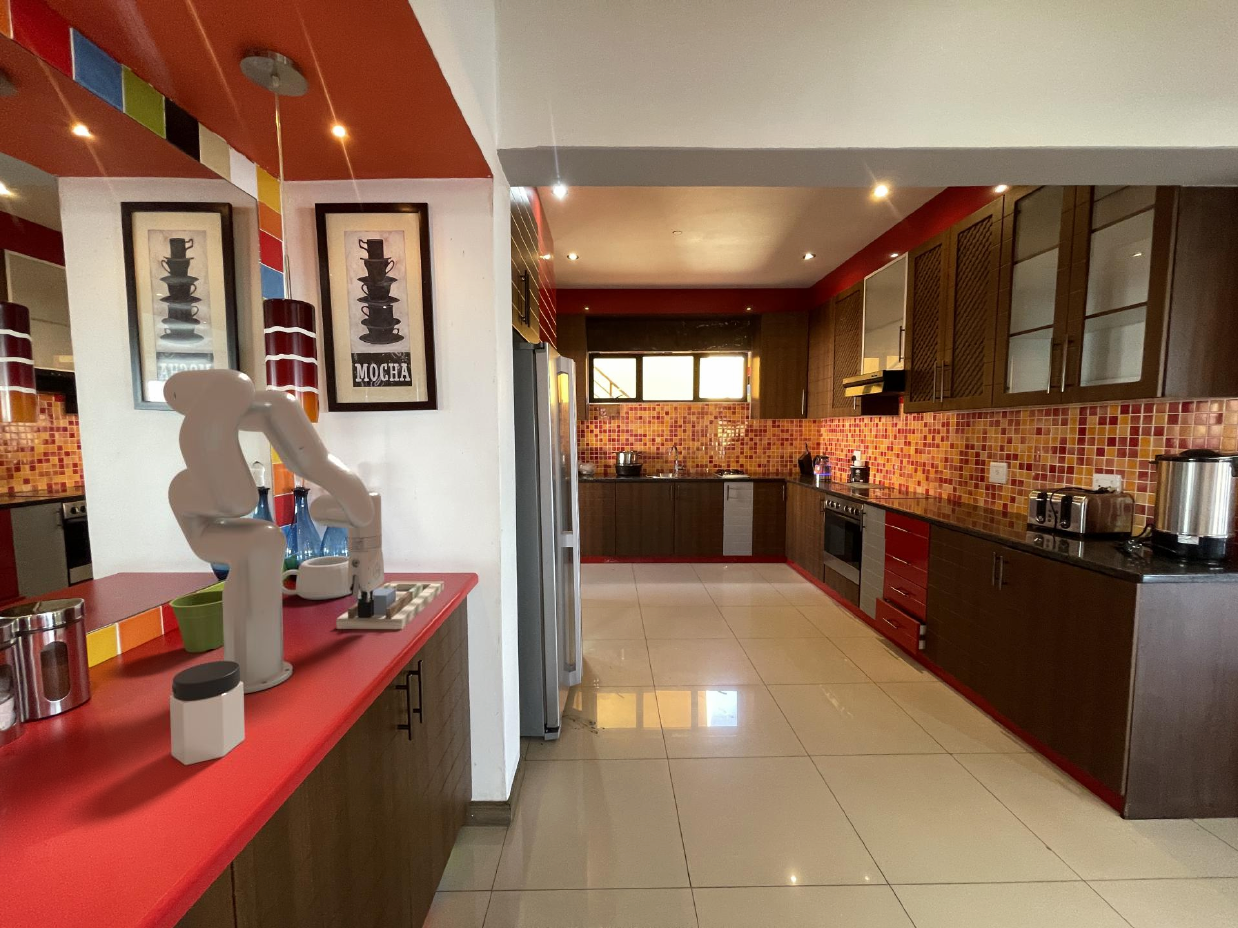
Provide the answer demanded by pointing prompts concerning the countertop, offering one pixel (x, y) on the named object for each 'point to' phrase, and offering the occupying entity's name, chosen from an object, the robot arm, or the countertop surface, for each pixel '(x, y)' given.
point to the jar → (206, 711)
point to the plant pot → (200, 620)
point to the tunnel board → (395, 606)
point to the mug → (320, 578)
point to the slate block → (383, 600)
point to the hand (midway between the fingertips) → (366, 616)
